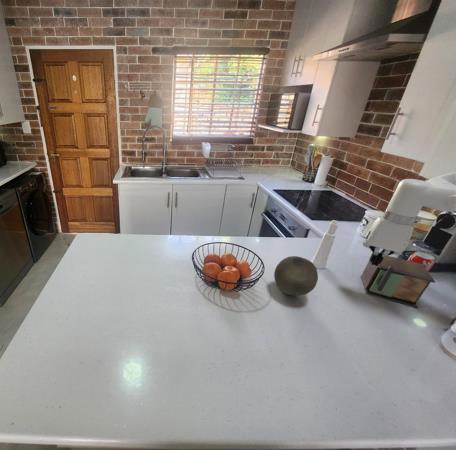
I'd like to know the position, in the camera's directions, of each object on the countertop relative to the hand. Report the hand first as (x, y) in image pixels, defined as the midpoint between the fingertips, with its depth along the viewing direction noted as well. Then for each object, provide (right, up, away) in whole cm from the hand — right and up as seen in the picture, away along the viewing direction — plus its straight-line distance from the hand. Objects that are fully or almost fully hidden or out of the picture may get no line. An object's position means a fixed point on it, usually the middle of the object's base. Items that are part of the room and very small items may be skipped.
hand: (373, 263), depth 89 cm
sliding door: (+6, -13, +4) cm, 15 cm away
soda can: (+29, -9, +15) cm, 34 cm away
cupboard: (+12, -12, +8) cm, 19 cm away
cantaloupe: (-28, -12, +5) cm, 31 cm away
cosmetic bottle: (-6, -4, +22) cm, 23 cm away
